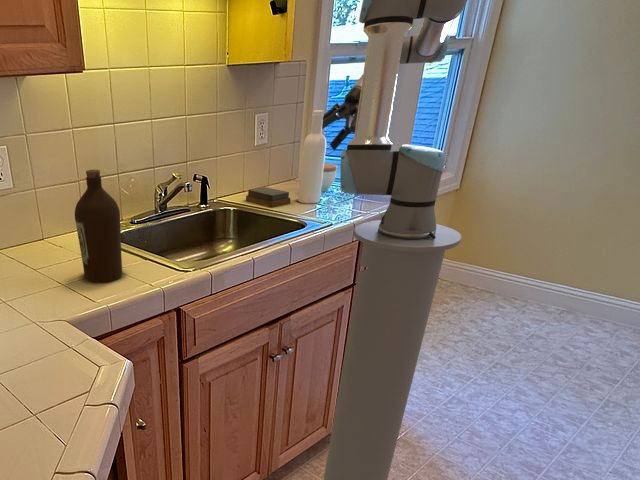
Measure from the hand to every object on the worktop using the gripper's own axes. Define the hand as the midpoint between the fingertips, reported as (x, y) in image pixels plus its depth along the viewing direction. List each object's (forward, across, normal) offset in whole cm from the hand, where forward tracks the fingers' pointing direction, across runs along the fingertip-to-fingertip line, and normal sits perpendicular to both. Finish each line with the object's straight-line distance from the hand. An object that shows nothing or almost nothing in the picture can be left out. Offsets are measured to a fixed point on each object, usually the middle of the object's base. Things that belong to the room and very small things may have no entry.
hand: (319, 145), depth 175 cm
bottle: (+15, 0, -12) cm, 19 cm away
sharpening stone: (+24, +7, -2) cm, 25 cm away
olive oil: (+79, -39, +52) cm, 102 cm away
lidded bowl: (+4, +14, -22) cm, 27 cm away
